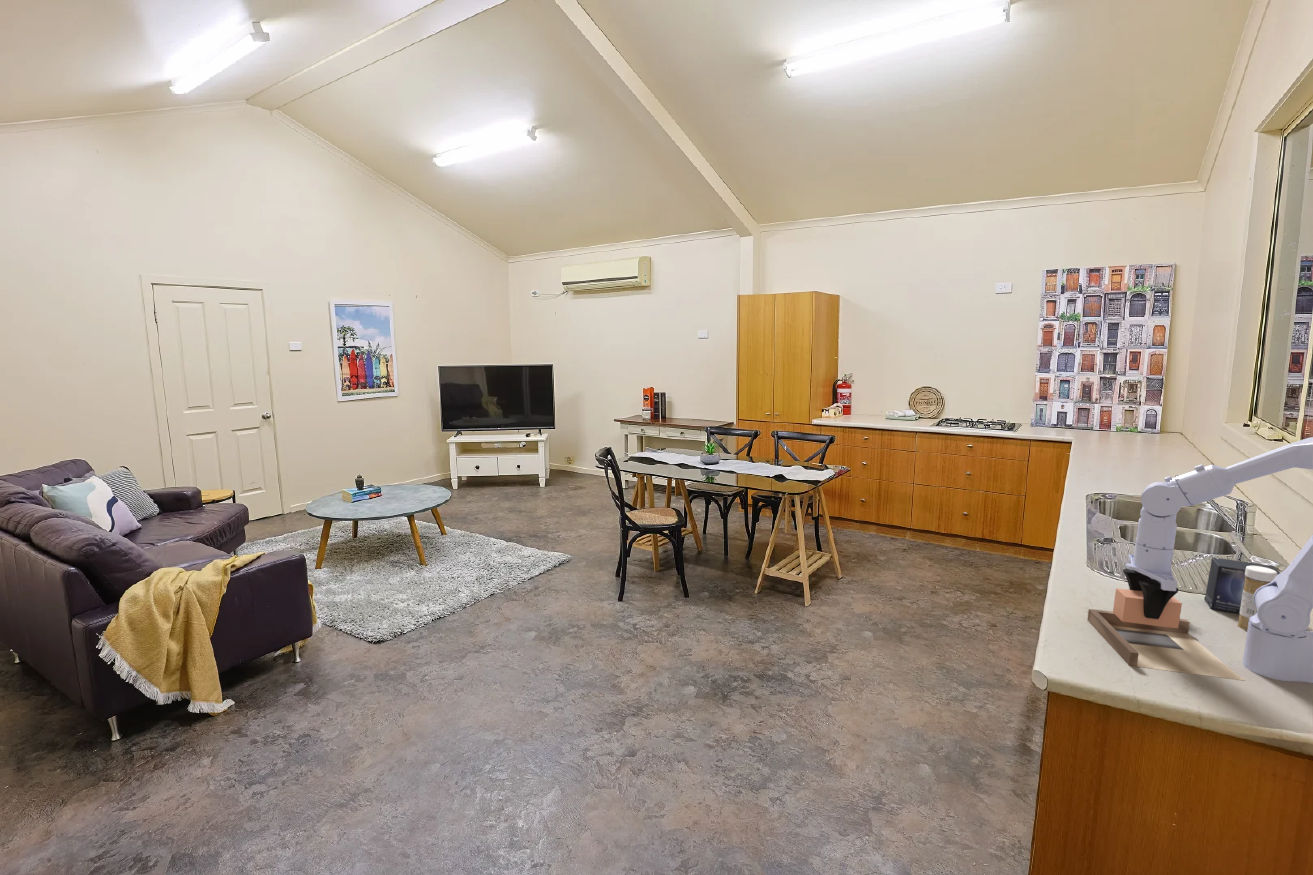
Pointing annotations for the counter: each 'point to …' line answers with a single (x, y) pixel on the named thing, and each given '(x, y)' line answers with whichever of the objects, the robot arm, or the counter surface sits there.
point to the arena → (1158, 646)
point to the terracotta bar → (1132, 609)
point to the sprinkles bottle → (1253, 591)
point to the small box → (1227, 584)
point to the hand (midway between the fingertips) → (1145, 612)
